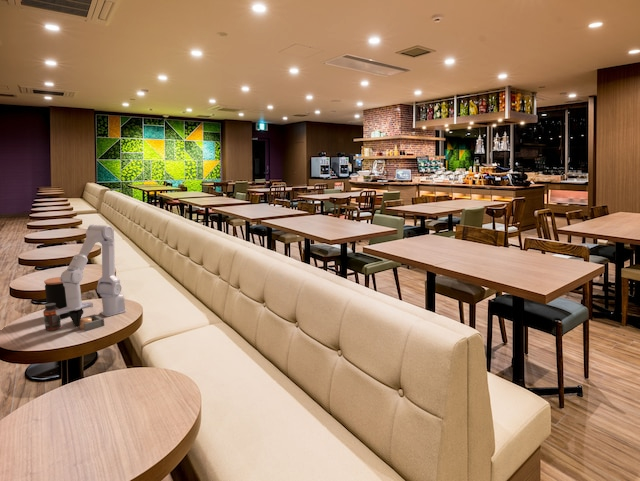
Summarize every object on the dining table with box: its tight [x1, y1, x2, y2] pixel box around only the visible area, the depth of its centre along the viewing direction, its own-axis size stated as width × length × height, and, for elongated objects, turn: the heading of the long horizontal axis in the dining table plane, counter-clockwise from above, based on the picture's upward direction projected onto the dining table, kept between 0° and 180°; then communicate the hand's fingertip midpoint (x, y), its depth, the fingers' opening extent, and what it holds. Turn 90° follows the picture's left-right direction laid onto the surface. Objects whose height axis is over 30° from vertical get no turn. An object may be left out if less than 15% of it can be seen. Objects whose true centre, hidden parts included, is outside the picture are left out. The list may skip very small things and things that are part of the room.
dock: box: [79, 314, 105, 331], centre depth 190 cm, size 8×9×3 cm
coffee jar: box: [43, 276, 70, 320], centre depth 201 cm, size 11×11×18 cm
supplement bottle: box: [42, 303, 62, 332], centre depth 185 cm, size 6×6×11 cm
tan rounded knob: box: [79, 316, 92, 330], centre depth 188 cm, size 5×5×4 cm
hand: (76, 326), depth 185 cm, fingers closed
